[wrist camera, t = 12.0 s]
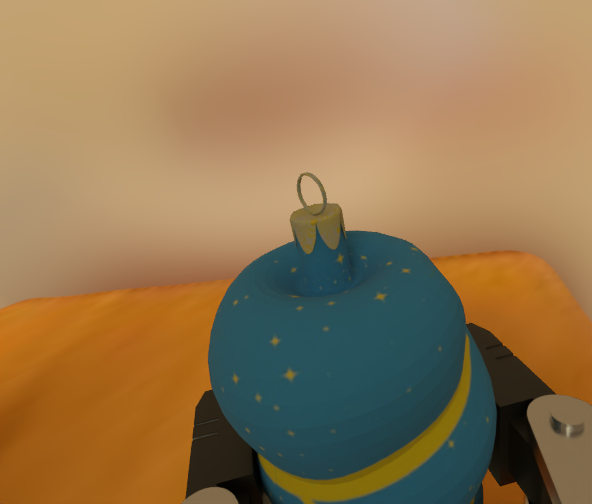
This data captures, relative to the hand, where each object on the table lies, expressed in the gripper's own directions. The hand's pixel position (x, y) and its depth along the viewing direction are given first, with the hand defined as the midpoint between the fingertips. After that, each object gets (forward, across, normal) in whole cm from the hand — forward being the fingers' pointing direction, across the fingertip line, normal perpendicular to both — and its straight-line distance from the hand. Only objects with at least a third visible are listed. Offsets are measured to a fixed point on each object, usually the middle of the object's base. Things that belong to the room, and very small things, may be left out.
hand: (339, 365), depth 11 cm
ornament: (-3, 0, +9) cm, 10 cm away
